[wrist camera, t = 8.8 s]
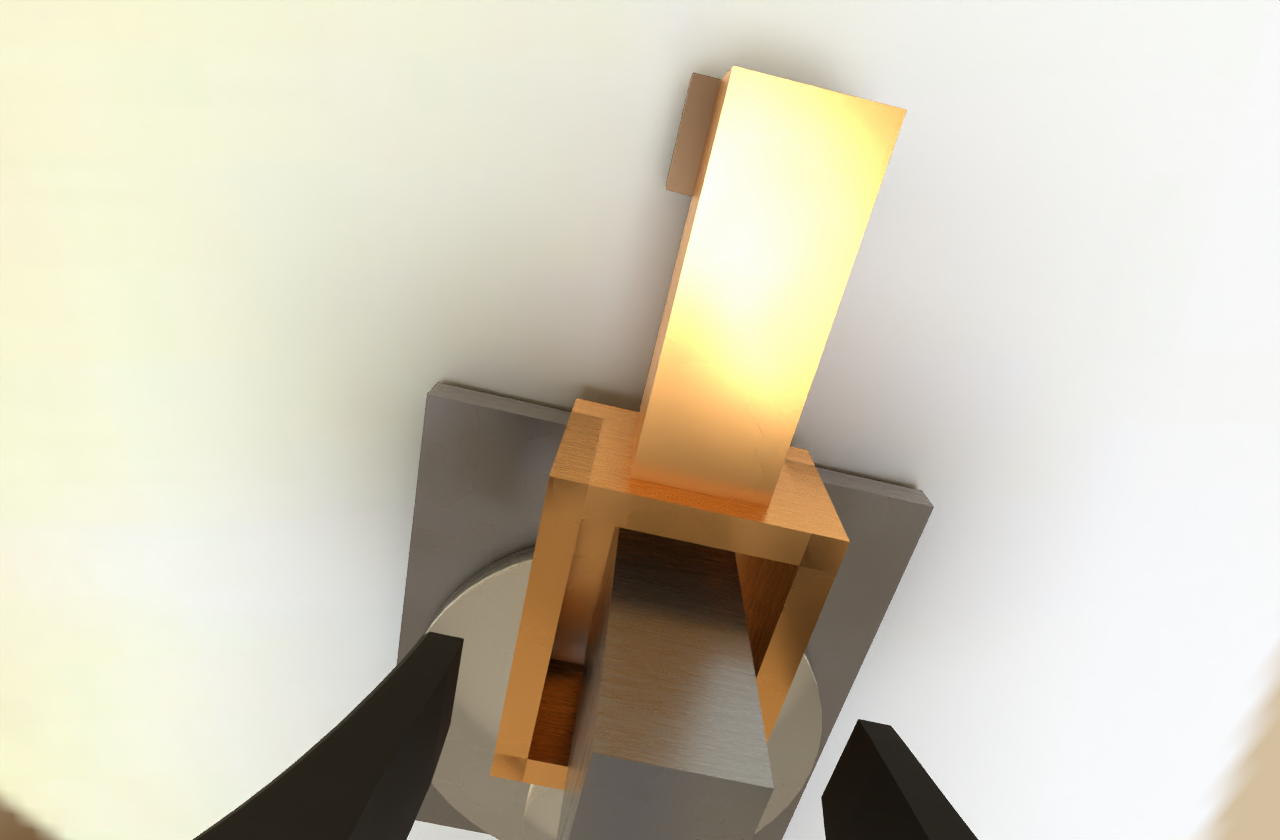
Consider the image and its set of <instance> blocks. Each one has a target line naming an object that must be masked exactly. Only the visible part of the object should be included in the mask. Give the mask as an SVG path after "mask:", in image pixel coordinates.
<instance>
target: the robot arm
mask: <svg viewBox="0 0 1280 840" xmlns="http://www.w3.org/2000/svg"><path fill="white" fill-rule="evenodd" d="M463 642H464V638H459V637H454V636H449V635H444V634H439V633H435V632H428V633H426V634H424V635H422V637H421V638H420V639H419V640H418V642H417V643H416V644H415V645H414V647H413V648H412V649H411V650H410V651H409V652H408V654H407V655H406V656H405V657H404V658H403V659H402V660H401V661H400V663H399V664H398V665H397V666H396V667H395V668H394V669H393V670H392V671H391V672H390V673H389V674H388V675H387V677H386V678H385V679H384V680H383V681H382V682H381V683H380V684H379V685H378V686H377V687H376V688H375V689H374V690H373V691H372V692H371V693H370V694H369V695H368V696H367V697H366V698H365V699H364V700H363V701H362V702H361V703H360V704H359V705H358V706H357V707H356V708H355V709H354V710H353V711H352V712H351V713H350V714H348V715H347V716H346V717H345V718H344V719H343V720H342V721H341V722H340V723H339V724H338V725H337V726H336V727H335V728H333V729H332V730H331V731H330V732H329V733H328V734H327V735H326V736H324V737H323V738H322V739H321V740H320V741H319V742H318V743H317V744H315V745H314V746H313V747H312V748H311V749H310V750H309V751H307V752H306V753H305V754H304V755H303V756H302V757H301V758H300V759H298V760H297V761H296V762H295V763H294V764H292V765H291V766H290V767H289V768H288V769H286V770H285V771H284V772H283V773H281V774H280V775H279V776H278V777H277V778H275V779H274V780H273V781H272V782H270V783H269V784H268V785H267V786H265V787H264V788H263V789H261V790H260V791H259V792H257V793H256V794H255V795H254V796H252V797H251V798H250V799H248V800H247V801H246V802H244V803H243V804H242V805H241V806H239V807H238V808H236V809H235V810H234V811H232V812H231V813H230V814H228V815H227V816H225V817H224V818H223V819H221V820H220V821H218V822H217V823H216V824H214V825H213V826H211V827H210V828H208V829H207V830H206V831H204V832H203V833H201V834H200V835H199V836H197V837H196V838H194V839H193V840H406V839H407V837H408V835H409V833H410V830H411V828H412V826H413V823H414V821H415V819H416V817H417V814H418V812H419V810H420V807H421V805H422V803H423V801H424V798H425V796H426V794H427V791H428V789H429V787H430V785H431V782H432V779H433V776H434V773H435V770H436V767H437V764H438V761H439V758H440V755H441V752H442V749H443V746H444V743H445V739H446V736H447V733H448V730H449V727H450V724H451V718H452V711H453V705H454V699H455V693H456V686H457V680H458V674H459V667H460V661H461V655H462V649H463ZM821 798H822V807H823V817H824V827H825V836H826V840H978V839H977V837H976V836H975V835H974V834H973V832H972V831H971V830H970V829H969V827H968V826H967V825H966V823H965V822H964V821H963V820H962V818H961V817H960V816H959V814H958V813H957V812H956V810H955V809H954V808H953V807H952V805H951V804H950V803H949V801H948V800H947V799H946V797H945V796H944V795H943V793H942V792H941V791H940V789H939V788H938V787H937V785H936V784H935V783H934V781H933V780H932V779H931V777H930V776H929V775H928V773H927V772H926V771H925V769H924V768H923V767H922V765H921V764H920V763H919V762H918V760H917V759H916V758H915V756H914V755H913V754H912V752H911V751H910V750H909V748H908V747H907V746H906V744H905V743H904V742H903V740H902V739H901V738H900V737H899V735H898V734H897V733H896V732H895V730H894V729H893V728H892V727H891V726H890V725H885V724H880V723H875V722H870V721H865V720H860V719H858V721H857V723H856V725H855V727H854V730H853V732H852V734H851V736H850V738H849V740H848V742H847V744H846V747H845V749H844V751H843V753H842V755H841V757H840V759H839V761H838V763H837V766H836V768H835V770H834V772H833V774H832V776H831V778H830V780H829V782H828V785H827V787H826V789H825V791H824V793H823V795H822V797H821Z"/></svg>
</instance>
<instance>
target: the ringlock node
mask: <svg viewBox="0 0 1280 840" xmlns="http://www.w3.org/2000/svg"><path fill="white" fill-rule="evenodd" d="M906 111H907V110H905V109H901V108H897V107H893V106H889V105H886V104H882V103H878V102H874V101H870V100H866V99H862V98H858V97H854V96H850V95H846V94H842V93H838V92H834V91H831V90H827V89H823V88H819V87H815V86H811V85H807V84H803V83H799V82H795V81H791V80H787V79H783V78H780V77H776V76H772V75H768V74H764V73H760V72H756V71H752V70H748V69H744V68H740V67H736V66H733V67H732V68H731V69H730V70H729V71H728V72H727V73H726V74H725V75H724V76H723V78H722V79H721V80H720V79H717V78H713V77H709V76H705V75H701V74H697V73H693V74H692V77H691V79H690V83H689V87H688V92H687V96H686V100H685V105H684V109H683V113H682V118H681V122H680V126H679V131H678V135H677V139H676V144H675V148H674V153H673V157H672V161H671V166H670V170H669V174H668V179H667V183H666V190H669V191H673V192H677V193H681V194H685V195H690V196H692V199H691V203H690V207H689V211H688V215H687V219H686V223H685V227H684V231H683V235H682V239H681V243H680V247H679V252H678V256H677V260H676V264H675V268H674V272H673V276H672V280H671V284H670V288H669V292H668V296H667V300H666V304H665V309H664V313H663V317H662V321H661V325H660V329H659V333H658V337H657V341H656V345H655V349H654V353H653V357H652V361H651V366H650V370H649V374H648V378H647V382H646V386H645V390H644V394H643V398H642V402H641V406H640V410H639V412H636V411H631V410H627V409H623V408H618V407H614V406H609V405H605V404H600V403H596V402H591V401H587V400H583V399H578V398H576V400H575V403H574V406H573V409H572V412H569V411H564V410H560V409H555V408H551V407H546V406H542V405H537V404H533V403H528V402H524V401H520V400H515V399H511V398H506V397H502V396H497V395H493V394H488V393H484V392H479V391H475V390H470V389H466V388H461V387H457V386H453V385H448V384H444V383H439V382H438V383H437V384H436V385H435V386H434V387H433V388H432V389H431V390H430V391H429V393H428V394H427V399H426V408H425V417H424V426H423V435H422V444H421V453H420V462H419V471H418V480H417V489H416V498H415V507H414V516H413V525H412V534H411V543H410V552H409V561H408V570H407V579H406V588H405V596H404V605H403V614H402V623H401V632H400V641H399V650H398V659H397V665H398V664H399V663H400V661H401V660H402V659H403V658H404V657H405V656H406V655H407V654H408V652H409V651H410V650H411V649H412V648H413V647H414V645H415V644H416V643H417V642H418V640H419V639H420V638H421V637H422V635H424V634H426V633H428V632H435V633H439V634H444V635H449V636H454V637H459V638H464V642H463V649H462V655H461V661H460V667H459V674H458V680H457V686H456V693H455V699H454V705H453V711H452V718H451V724H450V727H449V730H448V733H447V736H446V739H445V743H444V746H443V749H442V752H441V755H440V758H439V761H438V764H437V767H436V770H435V773H434V776H433V779H432V782H431V785H430V787H429V789H428V791H427V794H426V796H425V798H424V801H423V803H422V805H421V807H420V810H419V812H418V814H417V817H416V819H415V820H417V821H423V822H428V823H433V824H438V825H444V826H449V827H454V828H460V829H465V830H470V831H475V832H481V833H486V834H490V835H492V836H494V837H496V838H497V839H499V840H556V839H557V833H558V826H559V820H560V814H561V807H562V801H563V795H564V788H565V782H566V776H567V769H568V763H569V757H570V750H571V744H572V737H573V731H574V725H575V718H576V712H577V706H578V699H579V693H580V687H581V680H582V674H583V667H584V661H585V655H586V648H587V642H588V636H589V629H590V625H591V621H592V617H593V613H594V609H595V605H596V601H597V597H598V593H599V589H600V585H601V581H602V577H603V573H604V569H605V565H606V561H607V557H608V553H609V549H610V545H611V541H612V537H613V533H614V529H615V526H616V527H621V528H625V529H630V530H635V531H639V532H644V533H649V534H653V535H658V536H663V537H667V538H672V539H676V540H681V541H686V542H690V543H695V544H700V545H704V546H709V547H714V548H718V549H723V550H728V551H732V552H735V556H736V562H737V568H738V574H739V580H740V586H741V592H742V598H743V604H744V610H745V616H746V622H747V628H748V634H749V640H750V646H751V652H752V658H753V664H754V670H755V677H756V683H757V689H758V695H759V701H760V707H761V713H762V719H763V725H764V731H765V737H766V743H767V749H768V755H769V761H770V767H771V773H772V779H773V785H774V790H773V792H772V795H771V797H770V799H769V802H768V804H767V806H766V808H765V811H764V813H763V815H762V818H761V820H760V822H759V825H758V827H757V829H756V832H755V834H754V836H753V839H752V840H782V838H783V835H784V833H785V831H786V829H787V827H788V825H789V822H790V820H791V818H792V816H793V814H794V811H795V809H796V807H797V805H798V803H799V801H800V798H801V796H802V794H803V792H804V790H805V787H806V785H807V783H808V781H809V779H810V776H811V774H812V772H813V770H814V768H815V766H816V763H817V761H818V759H819V757H820V755H821V752H822V750H823V748H824V746H825V744H826V741H827V739H828V737H829V735H830V733H831V731H832V728H833V726H834V724H835V722H836V720H837V717H838V715H839V713H840V711H841V709H842V707H843V704H844V702H845V700H846V698H847V696H848V693H849V691H850V689H851V687H852V685H853V682H854V680H855V678H856V676H857V674H858V672H859V669H860V667H861V665H862V663H863V661H864V658H865V656H866V654H867V652H868V650H869V647H870V645H871V643H872V641H873V639H874V637H875V634H876V632H877V630H878V628H879V626H880V623H881V621H882V619H883V617H884V615H885V613H886V610H887V608H888V606H889V604H890V602H891V599H892V597H893V595H894V593H895V591H896V588H897V586H898V584H899V582H900V580H901V578H902V575H903V573H904V571H905V569H906V567H907V564H908V562H909V560H910V558H911V556H912V553H913V551H914V549H915V547H916V545H917V543H918V540H919V538H920V536H921V534H922V532H923V529H924V527H925V525H926V523H927V521H928V518H929V516H930V514H931V512H932V510H933V508H934V507H933V505H932V504H931V502H930V501H929V500H928V498H927V497H926V496H925V494H924V493H923V491H922V490H917V489H913V488H908V487H904V486H899V485H895V484H890V483H886V482H881V481H877V480H872V479H868V478H863V477H859V476H855V475H850V474H846V473H841V472H837V471H832V470H828V469H823V468H819V467H815V464H814V462H813V460H812V458H811V456H810V453H809V451H808V450H805V449H800V448H796V447H791V446H790V444H791V442H792V439H793V436H794V433H795V430H796V427H797V424H798V421H799V419H800V416H801V413H802V410H803V407H804V404H805V401H806V398H807V396H808V393H809V390H810V387H811V384H812V381H813V378H814V375H815V373H816V370H817V367H818V364H819V361H820V358H821V355H822V352H823V350H824V347H825V344H826V341H827V338H828V335H829V332H830V329H831V327H832V324H833V321H834V318H835V315H836V312H837V309H838V306H839V304H840V301H841V298H842V295H843V292H844V289H845V286H846V283H847V280H848V278H849V275H850V272H851V269H852V266H853V263H854V260H855V257H856V255H857V252H858V249H859V246H860V243H861V240H862V237H863V234H864V232H865V229H866V226H867V223H868V220H869V217H870V214H871V211H872V209H873V206H874V203H875V200H876V197H877V194H878V191H879V188H880V186H881V183H882V180H883V177H884V174H885V171H886V168H887V165H888V163H889V160H890V157H891V154H892V151H893V148H894V145H895V142H896V139H897V137H898V134H899V131H900V128H901V125H902V122H903V119H904V116H905V114H906Z"/></svg>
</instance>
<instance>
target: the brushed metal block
mask: <svg viewBox="0 0 1280 840" xmlns="http://www.w3.org/2000/svg"><path fill="white" fill-rule="evenodd" d="M773 790H774V785H773V779H772V773H771V767H770V761H769V755H768V749H767V743H766V737H765V731H764V725H763V719H762V713H761V707H760V701H759V695H758V689H757V683H756V677H755V670H754V664H753V658H752V652H751V646H750V640H749V634H748V628H747V622H746V616H745V610H744V604H743V598H742V592H741V586H740V580H739V574H738V568H737V562H736V556H735V552H732V551H728V550H723V549H718V548H714V547H709V546H704V545H700V544H695V543H690V542H686V541H681V540H676V539H672V538H667V537H663V536H658V535H653V534H649V533H644V532H639V531H635V530H630V529H625V528H621V527H616V526H615V529H614V533H613V537H612V541H611V545H610V549H609V553H608V557H607V561H606V565H605V569H604V573H603V577H602V581H601V585H600V589H599V593H598V597H597V601H596V605H595V609H594V613H593V617H592V621H591V625H590V629H589V636H588V642H587V648H586V655H585V661H584V667H583V674H582V680H581V687H580V693H579V699H578V706H577V712H576V718H575V725H574V731H573V737H572V744H571V750H570V757H569V763H568V769H567V776H566V782H565V788H564V795H563V801H562V807H561V814H560V820H559V826H558V833H557V839H556V840H752V839H753V836H754V834H755V832H756V829H757V827H758V825H759V822H760V820H761V818H762V815H763V813H764V811H765V808H766V806H767V804H768V802H769V799H770V797H771V795H772V792H773Z"/></svg>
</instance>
